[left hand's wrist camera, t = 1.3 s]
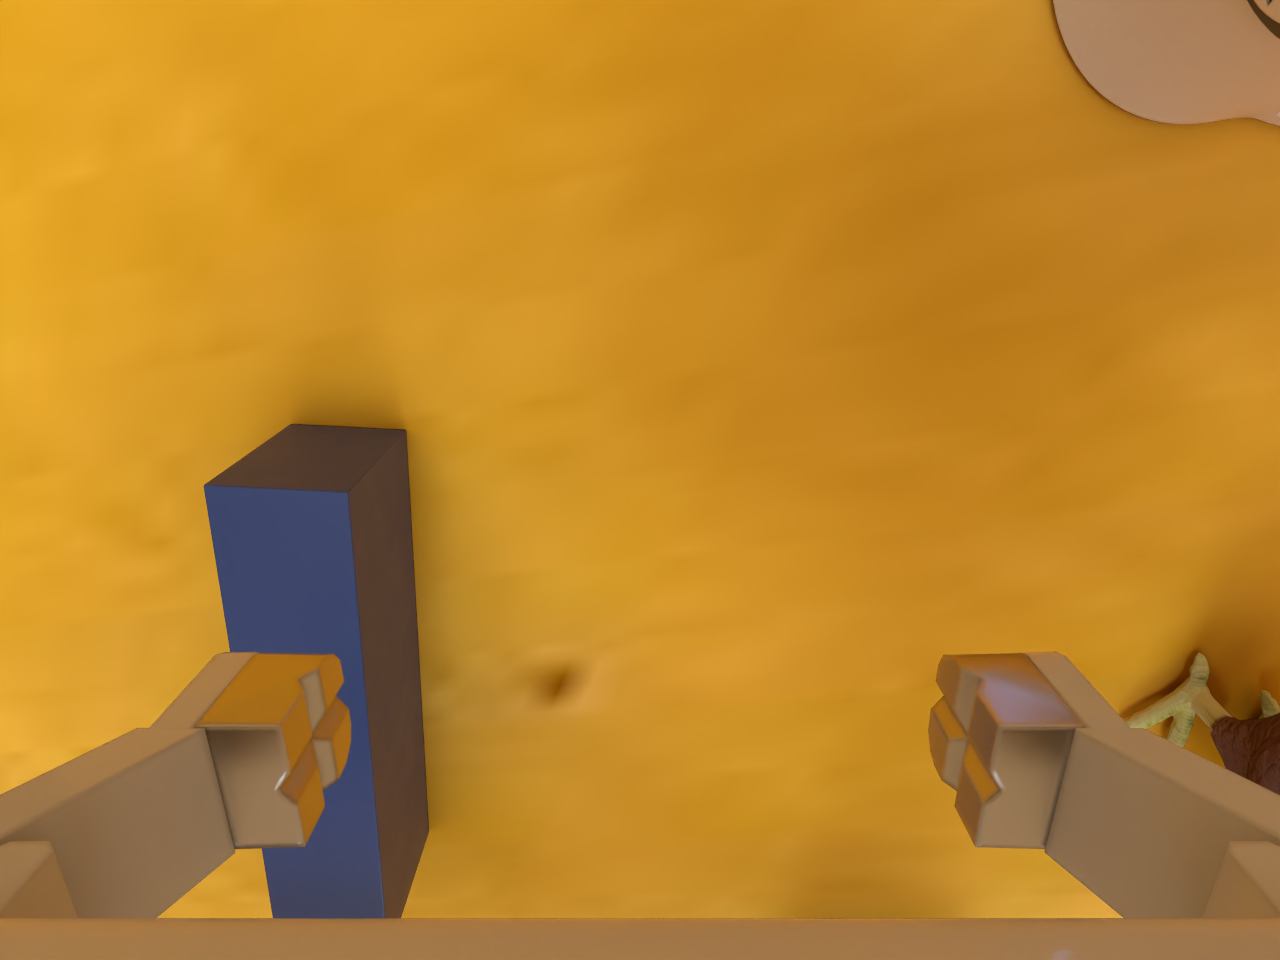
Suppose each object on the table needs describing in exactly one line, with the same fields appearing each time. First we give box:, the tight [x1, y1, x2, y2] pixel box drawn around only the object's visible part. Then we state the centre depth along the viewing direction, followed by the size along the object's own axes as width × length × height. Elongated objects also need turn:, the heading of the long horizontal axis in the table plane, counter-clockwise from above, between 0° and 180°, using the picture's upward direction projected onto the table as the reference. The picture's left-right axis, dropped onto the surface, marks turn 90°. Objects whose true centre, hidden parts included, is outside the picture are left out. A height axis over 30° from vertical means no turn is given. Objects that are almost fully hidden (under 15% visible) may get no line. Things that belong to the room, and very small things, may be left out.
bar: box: [204, 424, 429, 918], centre depth 41 cm, size 27×6×9 cm, turn 177°
